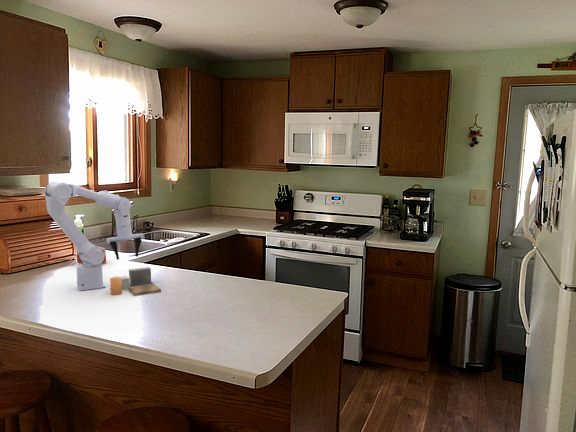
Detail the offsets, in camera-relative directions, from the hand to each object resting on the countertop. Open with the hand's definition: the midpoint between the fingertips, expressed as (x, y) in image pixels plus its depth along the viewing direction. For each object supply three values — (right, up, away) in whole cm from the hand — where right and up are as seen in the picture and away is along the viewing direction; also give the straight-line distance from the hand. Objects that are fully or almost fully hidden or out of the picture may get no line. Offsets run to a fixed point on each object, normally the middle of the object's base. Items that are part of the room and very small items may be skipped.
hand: (127, 257), depth 200 cm
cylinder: (+2, -12, -19) cm, 23 cm away
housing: (+7, -10, -6) cm, 14 cm away
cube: (+3, -11, -13) cm, 17 cm away
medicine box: (-29, -6, +35) cm, 46 cm away
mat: (+12, -11, -16) cm, 23 cm away
